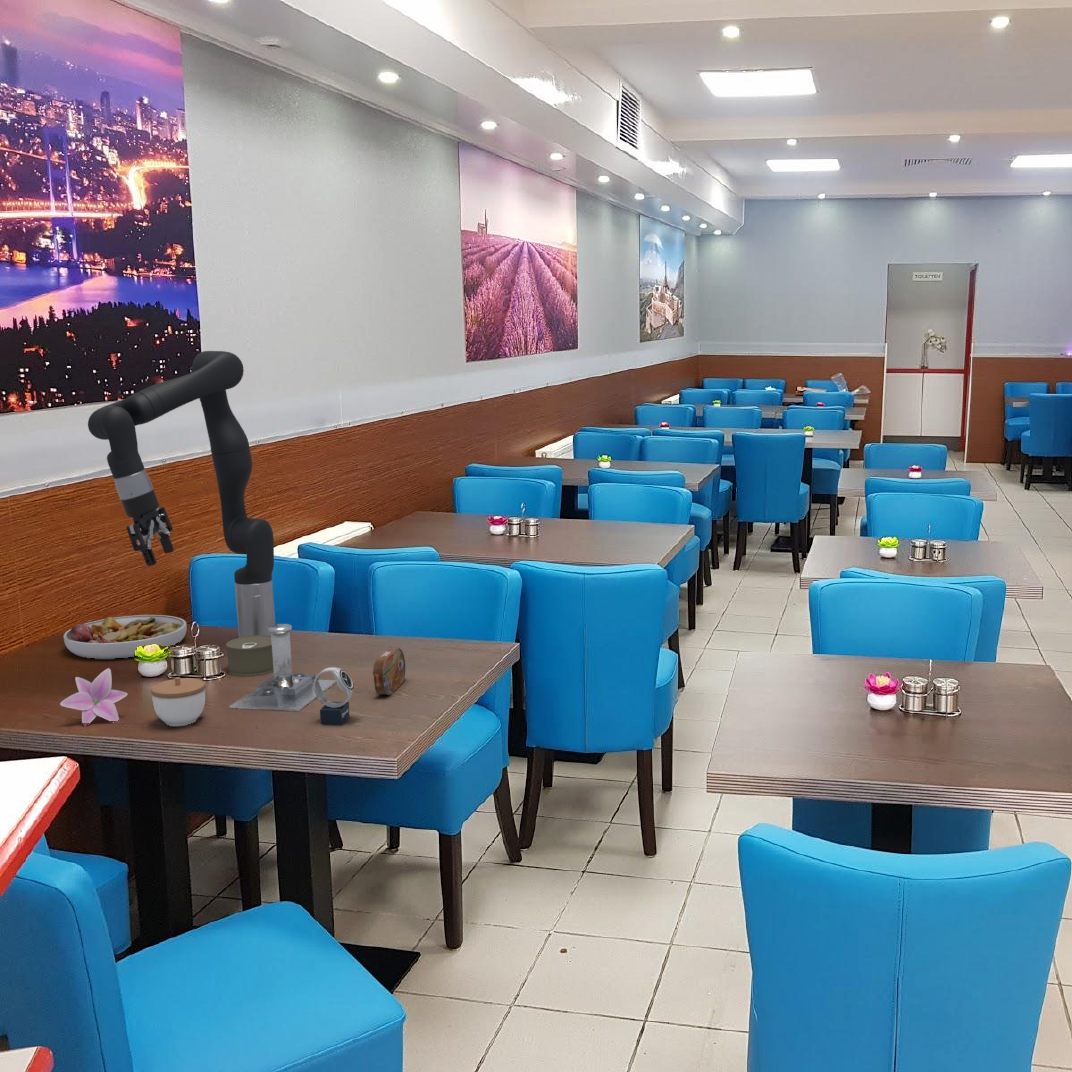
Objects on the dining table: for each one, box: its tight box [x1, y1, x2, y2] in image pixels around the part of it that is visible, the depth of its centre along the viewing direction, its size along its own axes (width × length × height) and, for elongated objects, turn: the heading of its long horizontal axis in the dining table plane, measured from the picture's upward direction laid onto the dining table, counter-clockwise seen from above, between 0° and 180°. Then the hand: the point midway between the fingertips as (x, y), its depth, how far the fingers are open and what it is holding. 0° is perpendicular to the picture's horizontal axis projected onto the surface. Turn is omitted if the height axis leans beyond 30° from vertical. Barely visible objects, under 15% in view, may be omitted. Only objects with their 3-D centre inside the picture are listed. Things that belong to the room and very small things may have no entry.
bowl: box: [63, 614, 188, 660], centre depth 303 cm, size 30×30×8 cm
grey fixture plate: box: [228, 672, 337, 712], centre depth 258 cm, size 21×16×3 cm
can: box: [225, 635, 274, 677], centre depth 278 cm, size 12×12×7 cm
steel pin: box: [268, 623, 293, 687], centre depth 257 cm, size 5×5×15 cm
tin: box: [372, 647, 406, 696], centre depth 260 cm, size 15×3×8 cm, turn 168°
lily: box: [59, 667, 128, 724], centre depth 244 cm, size 12×12×10 cm
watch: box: [313, 666, 355, 726], centre depth 239 cm, size 6×8×11 cm
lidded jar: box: [150, 676, 206, 727], centre depth 241 cm, size 11×11×9 cm
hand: (161, 558), depth 269 cm, fingers open, 8 cm apart
